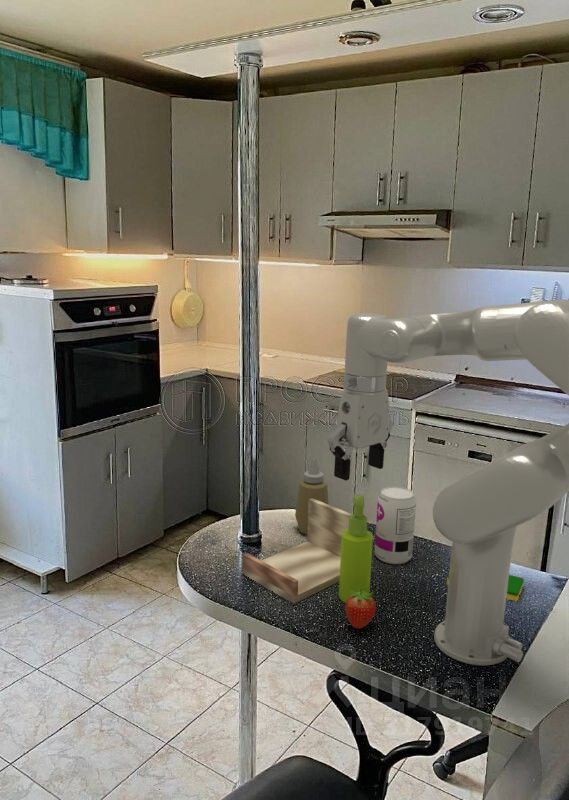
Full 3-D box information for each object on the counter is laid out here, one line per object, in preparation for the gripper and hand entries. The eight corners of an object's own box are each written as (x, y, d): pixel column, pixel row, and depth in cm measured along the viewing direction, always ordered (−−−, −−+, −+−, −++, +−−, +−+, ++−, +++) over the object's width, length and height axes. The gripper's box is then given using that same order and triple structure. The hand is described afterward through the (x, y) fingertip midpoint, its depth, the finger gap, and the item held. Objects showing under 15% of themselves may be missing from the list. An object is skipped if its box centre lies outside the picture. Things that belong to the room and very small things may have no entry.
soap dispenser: (368, 587, 132) (374, 493, 127) (369, 605, 125) (375, 507, 120) (339, 585, 132) (343, 491, 128) (338, 603, 126) (343, 505, 121)
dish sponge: (516, 605, 128) (518, 593, 127) (445, 586, 134) (446, 575, 133) (522, 588, 134) (524, 577, 133) (454, 571, 140) (455, 561, 139)
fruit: (358, 617, 121) (360, 577, 119) (379, 629, 117) (382, 589, 116) (337, 627, 118) (339, 586, 116) (359, 640, 114) (361, 599, 112)
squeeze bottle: (301, 540, 152) (303, 465, 148) (290, 525, 159) (292, 454, 155) (333, 535, 155) (337, 462, 150) (321, 522, 162) (324, 452, 158)
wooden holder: (361, 570, 139) (364, 519, 136) (293, 603, 125) (295, 548, 122) (310, 545, 149) (312, 498, 146) (242, 574, 136) (243, 522, 133)
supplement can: (373, 563, 142) (377, 498, 138) (375, 546, 150) (379, 484, 146) (411, 567, 140) (417, 501, 137) (411, 550, 148) (416, 487, 145)
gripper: (348, 393, 110) (343, 489, 115) (410, 380, 122) (403, 468, 126) (316, 385, 116) (312, 477, 120) (378, 373, 127) (372, 457, 131)
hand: (358, 472), depth 123 cm, fingers open, 9 cm apart
